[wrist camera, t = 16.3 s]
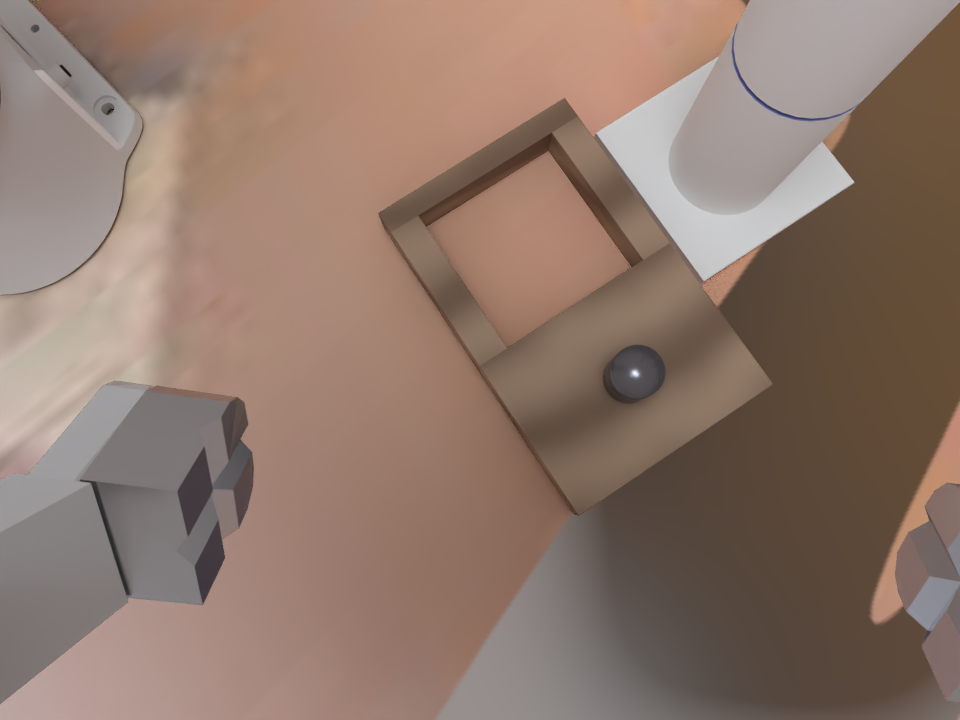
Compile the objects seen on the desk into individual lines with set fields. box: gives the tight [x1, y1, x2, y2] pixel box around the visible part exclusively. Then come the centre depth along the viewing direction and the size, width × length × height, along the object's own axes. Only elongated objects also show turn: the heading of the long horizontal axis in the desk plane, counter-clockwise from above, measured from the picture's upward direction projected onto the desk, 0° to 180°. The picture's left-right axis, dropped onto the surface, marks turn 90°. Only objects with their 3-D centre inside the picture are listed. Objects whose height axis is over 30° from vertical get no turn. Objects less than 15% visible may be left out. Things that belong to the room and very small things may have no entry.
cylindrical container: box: [669, 0, 960, 215], centre depth 36 cm, size 7×7×25 cm
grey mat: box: [594, 56, 854, 284], centre depth 49 cm, size 12×12×1 cm
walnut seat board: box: [378, 98, 773, 516], centre depth 45 cm, size 22×14×6 cm, turn 33°
